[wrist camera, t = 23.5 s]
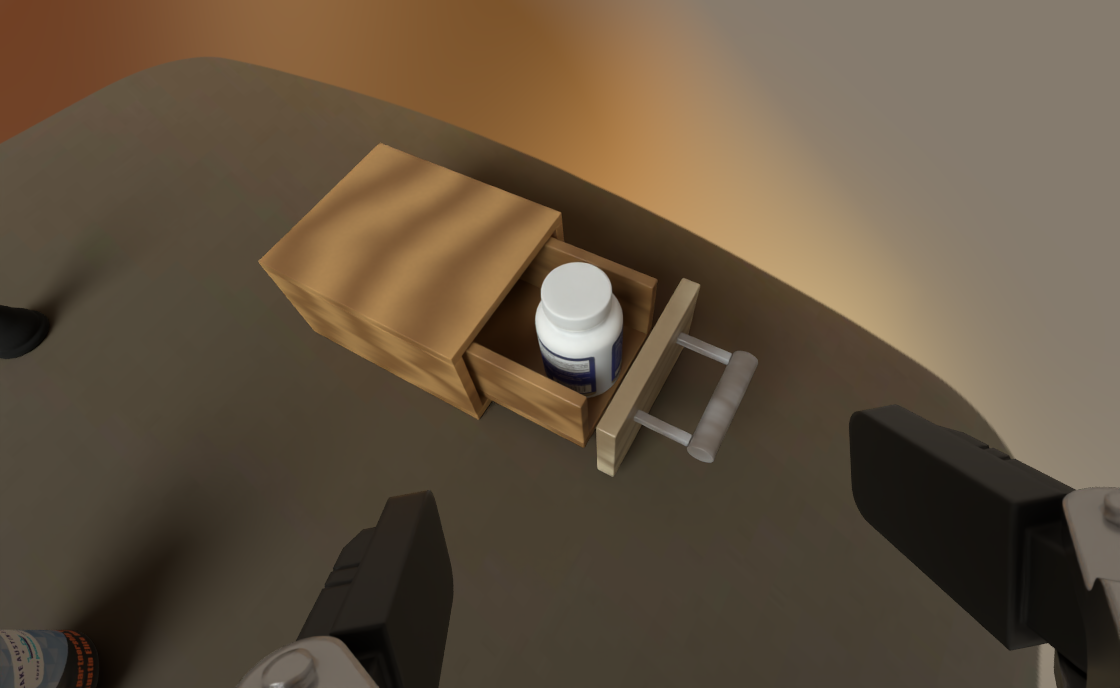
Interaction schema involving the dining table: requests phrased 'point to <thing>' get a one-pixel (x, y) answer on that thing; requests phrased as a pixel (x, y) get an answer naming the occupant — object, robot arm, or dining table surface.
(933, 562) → the robot arm
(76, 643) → the beverage can
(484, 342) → the drawer
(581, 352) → the pill bottle
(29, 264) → the dining table surface
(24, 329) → the chess piece
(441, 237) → the cabinet
